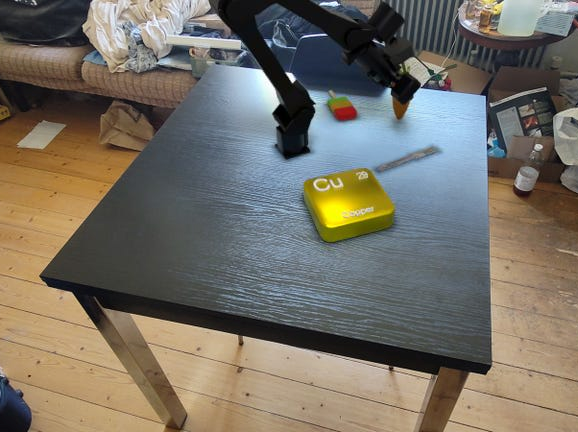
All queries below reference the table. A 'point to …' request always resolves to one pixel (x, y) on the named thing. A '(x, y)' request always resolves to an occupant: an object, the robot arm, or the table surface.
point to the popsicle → (341, 107)
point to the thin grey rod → (408, 158)
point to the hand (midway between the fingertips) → (406, 94)
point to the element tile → (348, 204)
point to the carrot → (397, 107)
